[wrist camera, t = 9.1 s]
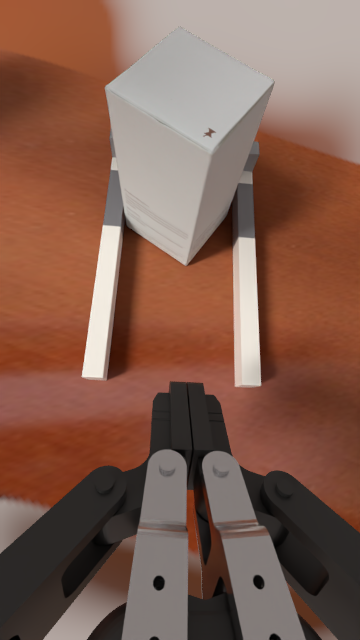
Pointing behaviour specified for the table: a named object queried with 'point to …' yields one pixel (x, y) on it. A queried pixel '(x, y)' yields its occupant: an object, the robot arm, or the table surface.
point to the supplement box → (183, 138)
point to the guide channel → (242, 280)
